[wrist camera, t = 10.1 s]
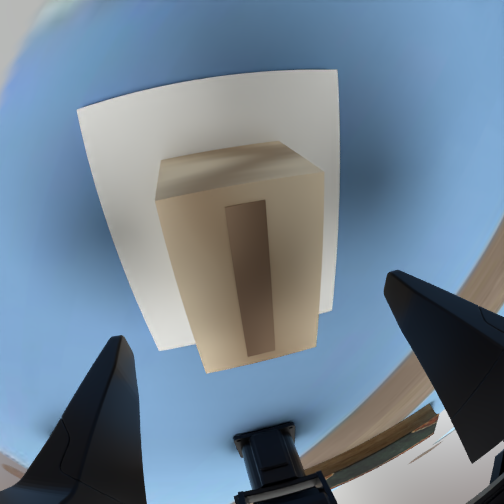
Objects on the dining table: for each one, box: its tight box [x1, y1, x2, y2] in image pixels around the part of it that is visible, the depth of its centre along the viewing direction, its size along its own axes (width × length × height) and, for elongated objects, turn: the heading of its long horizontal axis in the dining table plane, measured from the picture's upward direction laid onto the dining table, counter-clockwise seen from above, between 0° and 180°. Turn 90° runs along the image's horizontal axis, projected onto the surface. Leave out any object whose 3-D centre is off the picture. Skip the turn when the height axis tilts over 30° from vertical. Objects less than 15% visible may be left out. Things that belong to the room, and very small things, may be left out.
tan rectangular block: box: [155, 141, 324, 373], centre depth 13 cm, size 5×8×5 cm, turn 5°
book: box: [304, 404, 439, 489], centre depth 45 cm, size 17×4×25 cm
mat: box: [77, 70, 340, 351], centre depth 15 cm, size 14×11×1 cm
